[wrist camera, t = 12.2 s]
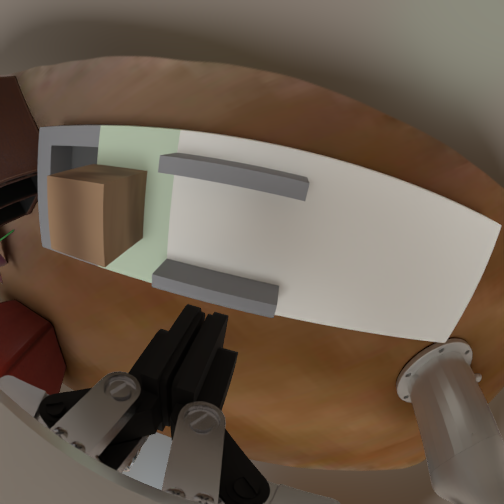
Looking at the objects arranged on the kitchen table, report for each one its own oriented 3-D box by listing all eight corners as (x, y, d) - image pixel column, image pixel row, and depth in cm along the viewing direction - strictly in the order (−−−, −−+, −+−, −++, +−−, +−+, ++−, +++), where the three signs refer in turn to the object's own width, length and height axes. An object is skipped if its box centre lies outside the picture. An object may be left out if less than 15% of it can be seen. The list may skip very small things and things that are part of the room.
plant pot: (24, 346, 44) (-15, 389, 29) (2, 278, 36) (-53, 321, 21) (82, 383, 43) (43, 440, 28) (61, 314, 35) (-2, 379, 20)
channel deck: (480, 213, 21) (519, 236, 15) (432, 322, 27) (454, 360, 20) (63, 125, 23) (19, 129, 17) (62, 234, 29) (25, 256, 23)
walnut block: (147, 170, 21) (103, 184, 15) (142, 238, 23) (104, 267, 17) (93, 164, 21) (47, 175, 15) (92, 225, 23) (51, 248, 18)
